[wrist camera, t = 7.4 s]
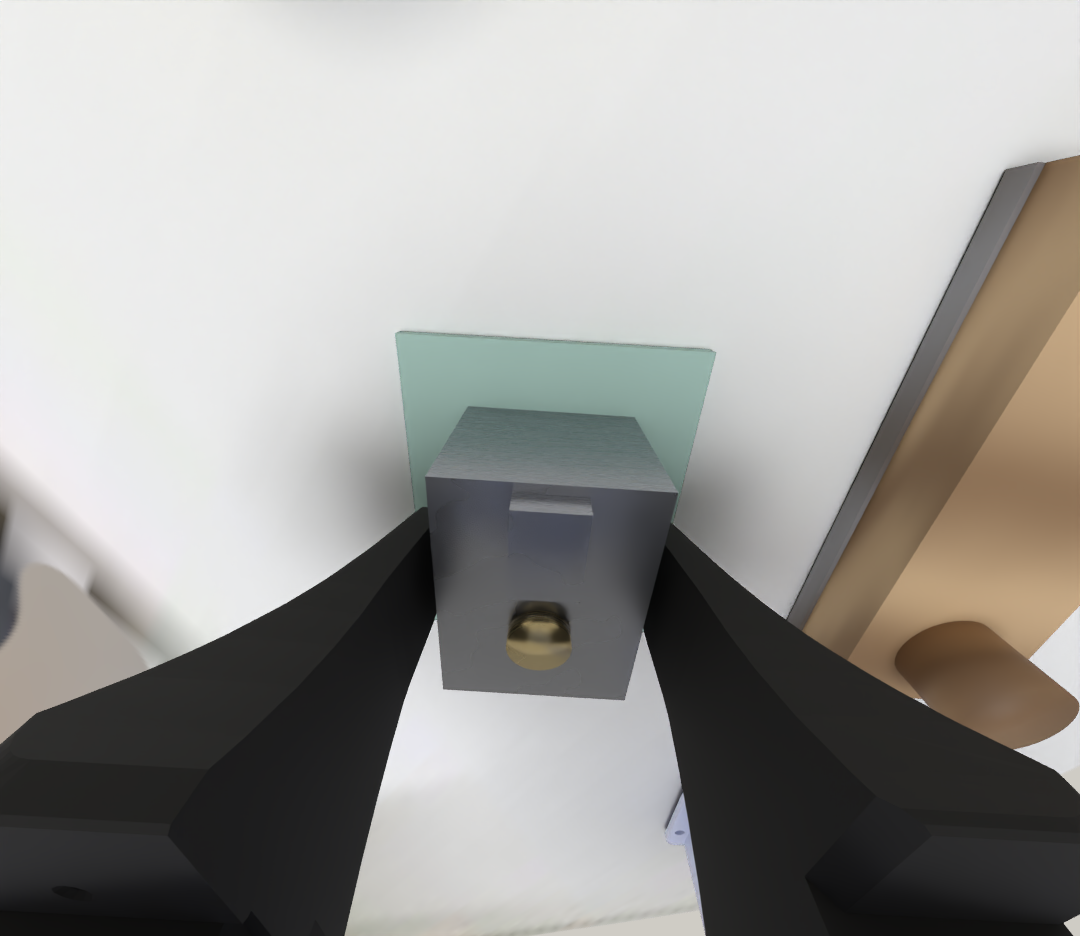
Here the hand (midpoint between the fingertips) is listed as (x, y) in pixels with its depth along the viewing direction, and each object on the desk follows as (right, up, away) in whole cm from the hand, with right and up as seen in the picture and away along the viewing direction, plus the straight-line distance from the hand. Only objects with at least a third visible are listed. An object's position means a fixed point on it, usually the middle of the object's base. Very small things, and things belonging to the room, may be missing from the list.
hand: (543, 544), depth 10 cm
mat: (0, +1, +2) cm, 2 cm away
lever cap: (0, +1, +1) cm, 2 cm away
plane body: (+12, +2, +1) cm, 12 cm away
